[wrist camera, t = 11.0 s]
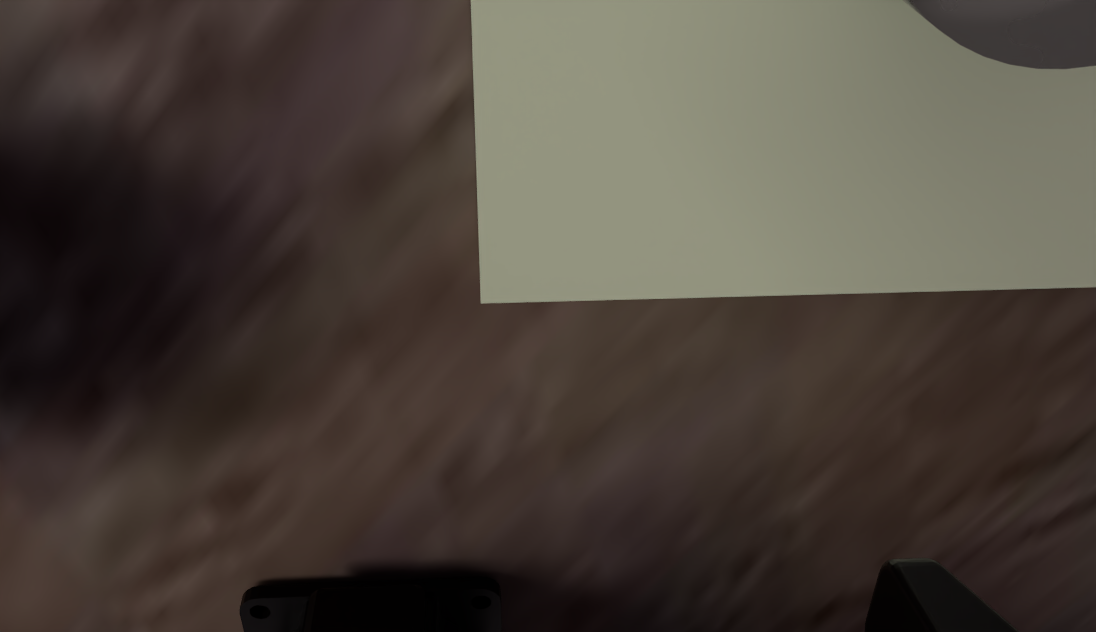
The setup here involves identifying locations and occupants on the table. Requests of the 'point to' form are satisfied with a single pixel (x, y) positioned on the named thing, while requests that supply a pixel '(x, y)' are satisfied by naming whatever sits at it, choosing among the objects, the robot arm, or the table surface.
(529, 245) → the dial plate
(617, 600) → the table surface
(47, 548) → the table surface
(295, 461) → the table surface
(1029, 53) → the dial
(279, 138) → the table surface
